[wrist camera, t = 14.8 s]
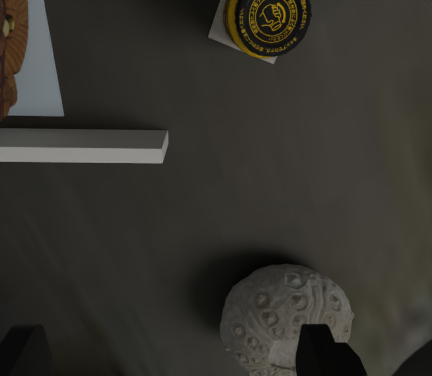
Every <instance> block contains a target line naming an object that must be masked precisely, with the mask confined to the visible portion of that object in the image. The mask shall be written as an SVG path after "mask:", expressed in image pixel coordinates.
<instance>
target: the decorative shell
mask: <svg viewBox="0 0 432 376" xmlns="http://www.w3.org/2000/svg"><path fill="white" fill-rule="evenodd" d="M354 317H355V316H354V313H353V312H352V311H351V308H350V304H349V300H348V299H347V297H346V296H345V294H344V292H343V290H342V289H341V288H340V287H339V286H338V285H336V284H335V283H334V282H333V281H332V280H330V279H329V278H327V277H326V276H324V275H323V274H320V273H319V272H316V271H314V270H312V269H310V268H308V267H305V266H302V265H292V264H282V265H273V264H272V265H270V266H266V267H263V268H260V269H257V270H255V271H254V272H253V273H252V274H250V275H249V276H248V277H246V278H244V279H242V280H241V281H240V282H239V283H237V284H236V285H234V286H233V287H232V289H231V291H230V292H229V294H228V296H227V298H226V300H225V306H224V308H223V312H222V320H221V323H220V336H221V339H222V341H223V344H224V347H225V350H227V351H228V353H229V354H230V355H231V356H232V357H233V359H234V360H235V361H236V362H237V363H238V365H239V366H240V368H243V369H244V370H246V371H247V372H248V374H249V376H254V375H255V376H297V374H296V365H295V357H296V351H297V346H298V340H299V335H300V330H301V326H302V324H327V325H328V326H329V328H330V330H331V333H332V335H333V338H334V340H335V342H346V343H347V341H348V339H349V337H350V333H351V323H352V319H353V318H354Z"/></svg>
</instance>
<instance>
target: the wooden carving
mask: <svg viewBox="0 0 432 376" xmlns="http://www.w3.org/2000/svg"><path fill="white" fill-rule="evenodd" d="M28 4H29V3H28V0H0V122H1V121H2V119H3V118H4V117H5V116H6V115H7V114H8V113H9V109H10V108H11V107H12V106H14V105H15V104H16V102H17V93H18V91H17V86H16V82H15V77H14V75H15V74H18V73H19V72H20V70H21V66H22V64H23V61H24V58H25V53H26V47H27V41H28V28H29V25H28V21H29V18H28V11H29V9H28Z"/></svg>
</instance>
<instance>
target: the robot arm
mask: <svg viewBox="0 0 432 376" xmlns="http://www.w3.org/2000/svg"><path fill="white" fill-rule="evenodd" d="M295 365H296V374H297V376H367V373H366V371H365V369H364V366H363V364H362V362H361V360H360V357H359V356H358V355H357V354H356V353H355V352H354V351H353V350H352V348H351V347H350V346H349V345H348V344H347V343H346V342H335V340H334V338H333V335H332V333H331V330H330V328H329V326H328V325H327V324H302V326H301V330H300V335H299V340H298V346H297V351H296V357H295ZM51 370H52V355H51V351H50V348H49V344H48V341H47V337H46V334H45V330H44V327H43V326H42V325H41V324H21V325H14V326H12V327H11V328H10V330H9V331H8V333H7V334H6V336H5V338H4V339H3V341H2V342H1V344H0V376H50V374H51Z"/></svg>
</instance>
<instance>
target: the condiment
mask: <svg viewBox="0 0 432 376" xmlns="http://www.w3.org/2000/svg"><path fill="white" fill-rule="evenodd" d="M311 16H312V13H311V4H310V0H220V3H219V6H218V9H217V12H216V15H215V17H214V20H213V23H212V26H211V29H210V32H209V35H208V37H209V38H211V39H214V40H216V41H218V42H221V43H223V44H226V45H228V46H231V47H233V48H235V49H238V50H240V51H243V52H245V53H247V54H249V55H250V56H252V57H256V58H259V59H262V60H264V61H267V62H269V63H271V64H274V62H275V60H276V57H277V56H281V55H283V54H286V53H287V52H289V51H291V50H292V49H294V48H295V47H296V46H297V45H298V44H299V43H300V41H301V40H302V39H303V37H304V36H305V34H306V32H307V29H308V26H309V25H310V18H311Z"/></svg>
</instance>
